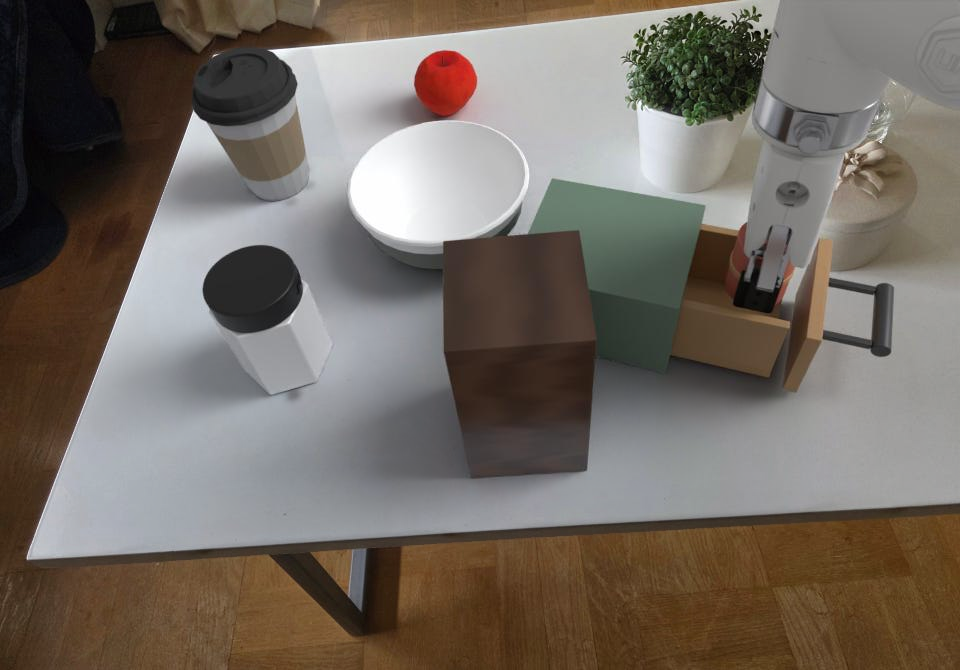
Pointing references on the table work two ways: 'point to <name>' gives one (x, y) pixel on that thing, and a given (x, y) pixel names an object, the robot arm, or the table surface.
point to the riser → (520, 351)
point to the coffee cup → (255, 118)
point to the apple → (445, 82)
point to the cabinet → (628, 263)
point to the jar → (268, 317)
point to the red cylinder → (740, 263)
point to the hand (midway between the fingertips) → (757, 280)
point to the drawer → (766, 315)
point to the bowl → (437, 188)
